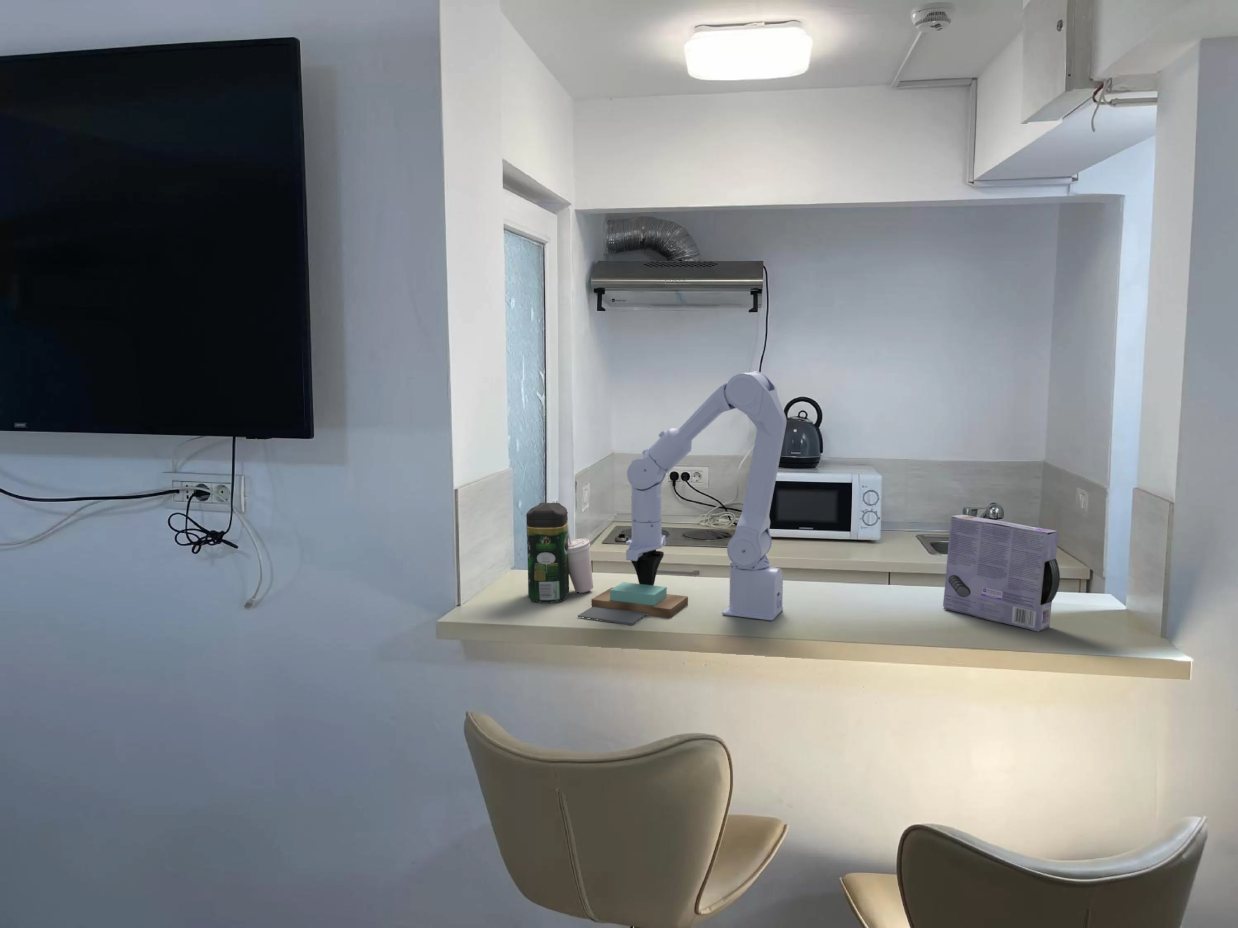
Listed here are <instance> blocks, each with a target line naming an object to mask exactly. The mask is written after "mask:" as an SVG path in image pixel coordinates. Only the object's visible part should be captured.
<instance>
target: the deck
mask: <svg viewBox="0 0 1238 928" xmlns="http://www.w3.org/2000/svg"><path fill="white" fill-rule="evenodd" d="M612 588H613V587H610V588H609V589H607V590H605V591H603V592H601V593H599V594H598V595H596V596H594V597H593V598H591V599H590V600H591V601H590V602H591V606H592V607H593V606H597V607H605V608H612V609H620V610H628V611H636V612H644V613H647V616H654V617H661V618H669V619H670V618H672V617H674V616H675V615H677V613H679V612H680V611H681V610H683V609H684V608H685V607H687V606H688V605H689V596H687V595H677V594H671V593H670V594H669V593H667V597H666V598H665V599H663V600H662V601H661V602H659V603H658V604H656V605H655V606H653V605H645V604H637V603H629V602H621V601H613V600H610V590H611V589H612ZM591 606H590V607H591Z"/></svg>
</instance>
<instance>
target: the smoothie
mask: <svg viewBox="0 0 1238 928" xmlns="http://www.w3.org/2000/svg"><path fill="white" fill-rule="evenodd" d="M590 547H591V543H590V540H589V539H588V538H582V537H581V538H573V539H572V536H571V532H570V529H569V526H568V566H569V579H570V582H571V583H572V586H573V588H574V591H576V593H577V592H579V593H578V594H580V593H581V594H582V593H586V592H589V591H591V590H593V589H594V581H593V580H594V579H593V572H592V571H593V570H592V561H591V551H590Z"/></svg>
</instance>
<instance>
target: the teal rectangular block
mask: <svg viewBox="0 0 1238 928" xmlns="http://www.w3.org/2000/svg"><path fill="white" fill-rule="evenodd" d="M611 588H612V589H611V590H610V600H613V601H621V602H629V603H637V604H645V605H653V606H655V605H656V604H658V603H659V602H661V601H662V600H663V599H665V598H666V597H667V594H668V592H667V589H668V587H667V586H660V585H654V586H653V585H645V584H639V583H634V582H625V581H623V582H621V583H619V584H618V585H615V586H614V587H611Z"/></svg>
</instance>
